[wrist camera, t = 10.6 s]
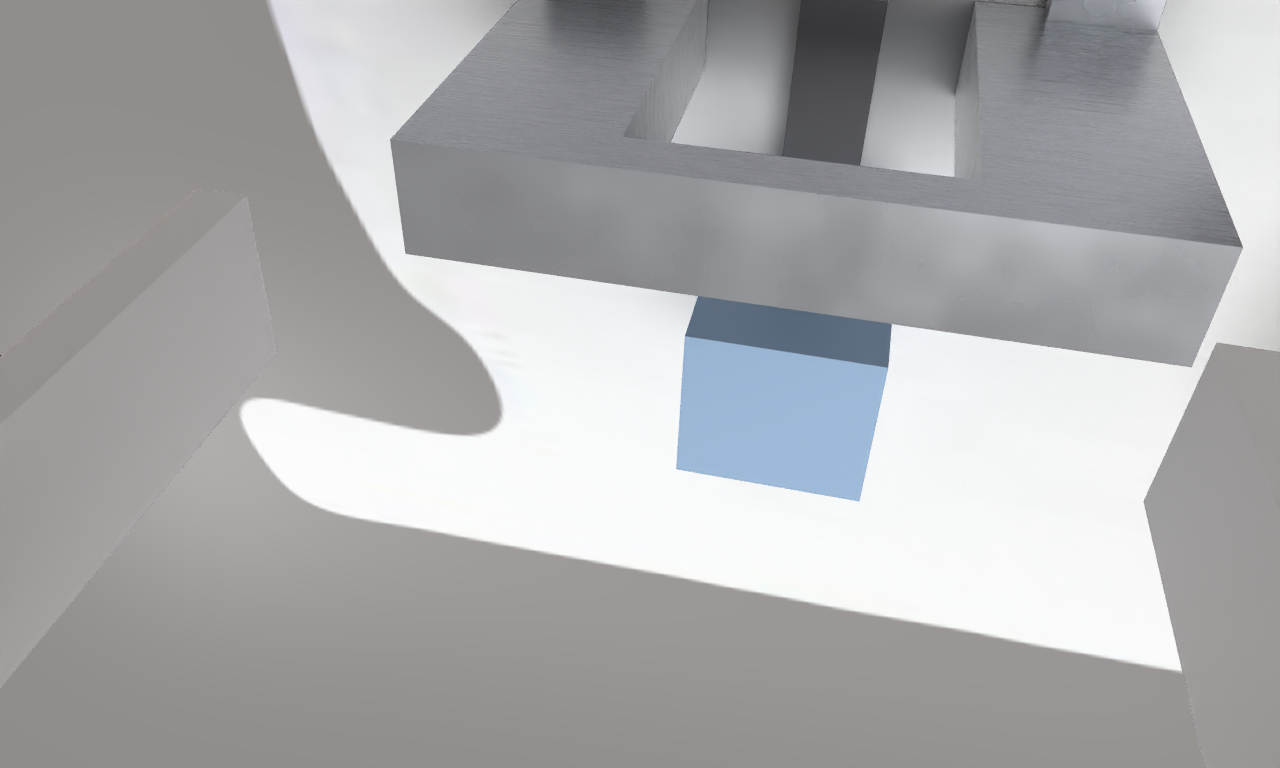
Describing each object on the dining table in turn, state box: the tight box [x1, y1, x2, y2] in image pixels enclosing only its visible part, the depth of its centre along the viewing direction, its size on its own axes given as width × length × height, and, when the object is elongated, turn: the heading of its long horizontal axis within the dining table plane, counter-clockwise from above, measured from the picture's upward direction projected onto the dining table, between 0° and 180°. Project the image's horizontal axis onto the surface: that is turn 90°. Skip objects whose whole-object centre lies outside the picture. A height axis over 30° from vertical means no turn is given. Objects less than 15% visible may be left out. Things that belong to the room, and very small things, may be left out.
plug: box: [676, 0, 892, 501], centre depth 32 cm, size 12×6×10 cm, turn 178°
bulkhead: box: [390, 0, 1243, 367], centre depth 29 cm, size 8×18×13 cm, turn 89°
